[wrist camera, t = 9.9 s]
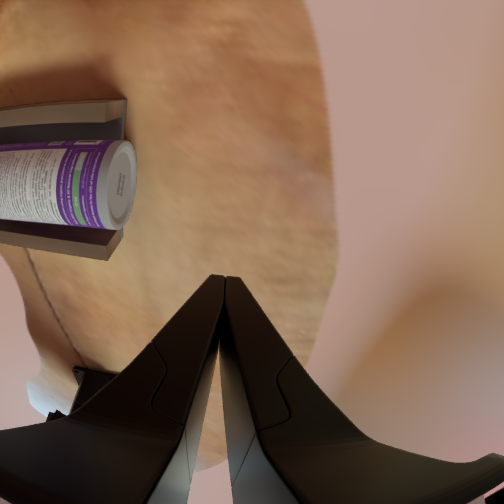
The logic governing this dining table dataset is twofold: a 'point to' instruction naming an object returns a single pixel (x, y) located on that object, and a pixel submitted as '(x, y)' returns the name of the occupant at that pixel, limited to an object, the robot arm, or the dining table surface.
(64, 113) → the cradle
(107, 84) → the dining table surface
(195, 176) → the dining table surface
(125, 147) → the container
